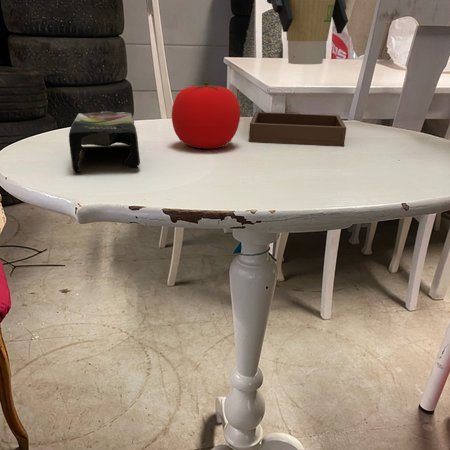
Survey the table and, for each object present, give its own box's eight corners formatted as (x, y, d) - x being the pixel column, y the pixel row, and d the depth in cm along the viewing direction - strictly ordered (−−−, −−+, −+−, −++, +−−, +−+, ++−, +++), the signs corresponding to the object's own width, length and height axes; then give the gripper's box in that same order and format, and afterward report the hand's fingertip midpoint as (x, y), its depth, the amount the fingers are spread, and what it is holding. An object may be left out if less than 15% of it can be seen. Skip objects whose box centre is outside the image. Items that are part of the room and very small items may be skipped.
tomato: (171, 153, 78) (168, 85, 73) (174, 139, 88) (172, 78, 83) (242, 154, 79) (244, 86, 74) (237, 140, 89) (238, 79, 84)
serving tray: (337, 131, 99) (339, 115, 97) (343, 146, 86) (346, 127, 85) (254, 128, 100) (255, 111, 99) (248, 141, 88) (249, 123, 86)
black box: (78, 144, 82) (73, 107, 79) (134, 143, 84) (132, 107, 81) (70, 176, 65) (64, 130, 62) (141, 174, 67) (139, 130, 64)
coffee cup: (342, 62, 86) (354, -37, 79) (311, 66, 80) (320, -42, 73) (299, 60, 92) (306, -33, 84) (267, 63, 86) (271, -37, 78)
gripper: (330, -50, 92) (361, 44, 87) (222, -59, 86) (248, 42, 81) (349, -90, 85) (383, 10, 80) (233, -102, 79) (262, 5, 74)
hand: (315, 26), depth 81 cm, fingers closed on coffee cup, 10 cm apart
